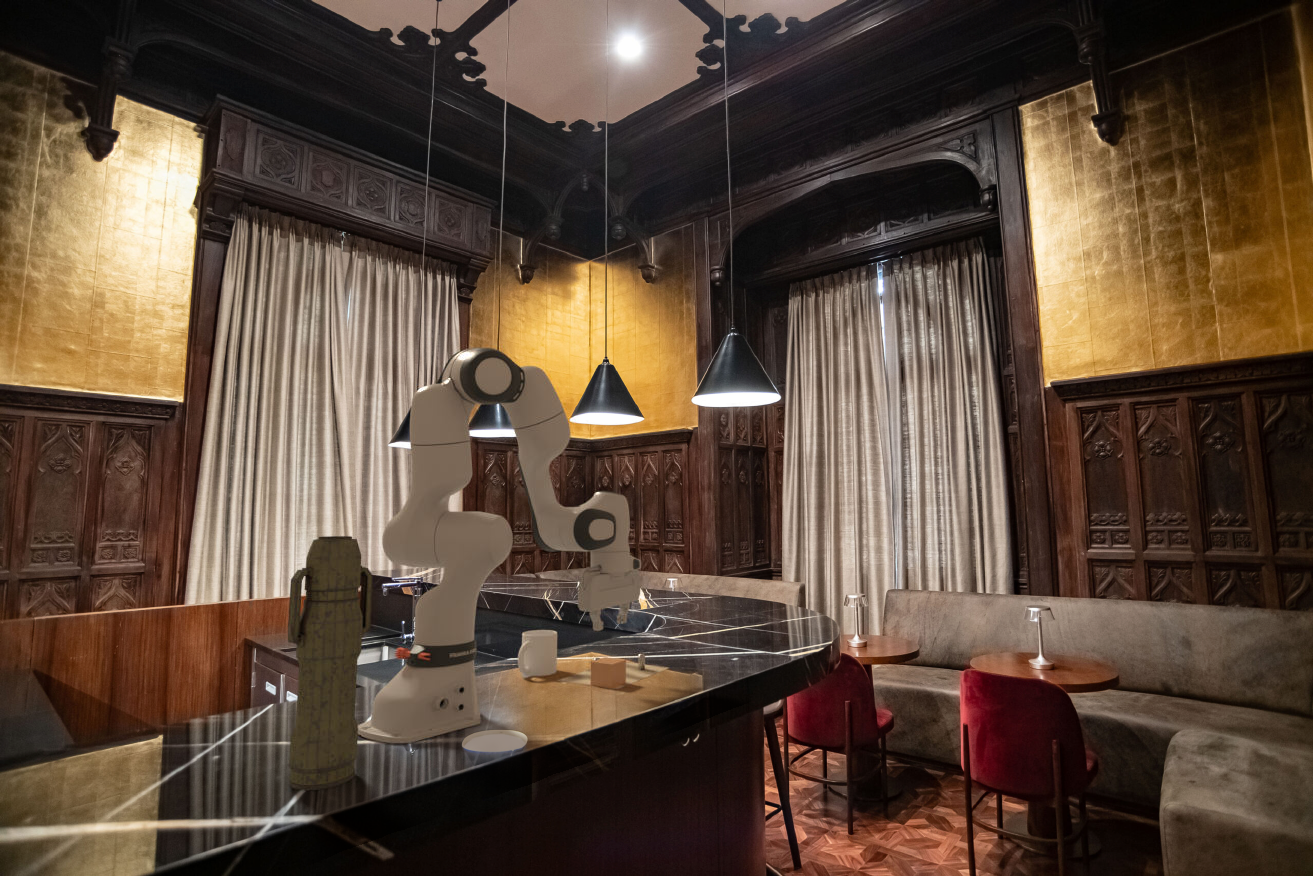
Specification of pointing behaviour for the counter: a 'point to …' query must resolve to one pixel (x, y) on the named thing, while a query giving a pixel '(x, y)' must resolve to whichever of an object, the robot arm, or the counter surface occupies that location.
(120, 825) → the counter surface
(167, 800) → the counter surface
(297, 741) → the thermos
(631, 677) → the board
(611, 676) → the tan wooden cube
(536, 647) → the mug
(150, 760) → the counter surface
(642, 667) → the pins
